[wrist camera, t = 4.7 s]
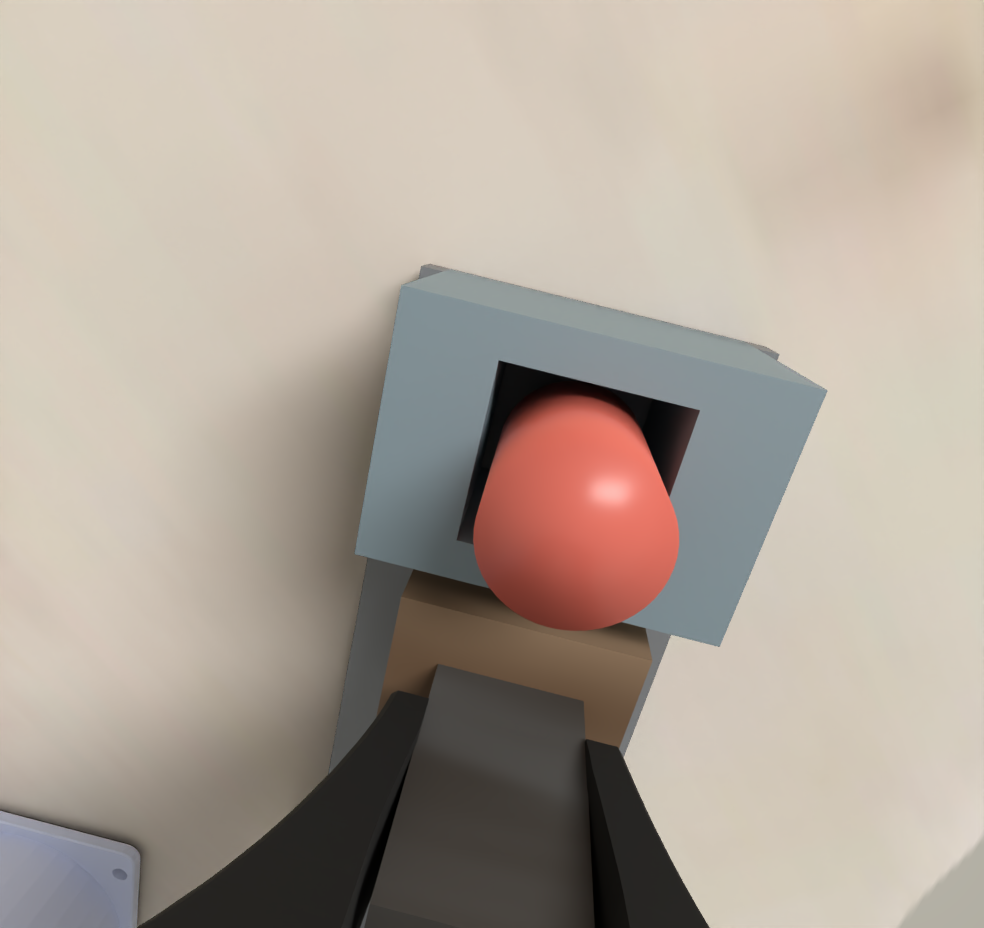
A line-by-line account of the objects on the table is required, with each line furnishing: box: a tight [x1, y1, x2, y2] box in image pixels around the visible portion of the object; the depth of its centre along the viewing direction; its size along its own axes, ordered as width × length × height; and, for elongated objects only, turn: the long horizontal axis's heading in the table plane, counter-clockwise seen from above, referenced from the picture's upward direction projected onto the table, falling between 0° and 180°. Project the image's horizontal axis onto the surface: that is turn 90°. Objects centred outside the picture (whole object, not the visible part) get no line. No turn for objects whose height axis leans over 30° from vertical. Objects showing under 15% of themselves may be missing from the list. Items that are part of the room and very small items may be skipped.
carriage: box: [364, 569, 652, 928], centre depth 12 cm, size 5×5×8 cm
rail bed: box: [328, 264, 827, 928], centre depth 17 cm, size 24×8×5 cm, turn 167°
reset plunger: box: [473, 381, 679, 631], centre depth 11 cm, size 3×3×4 cm
